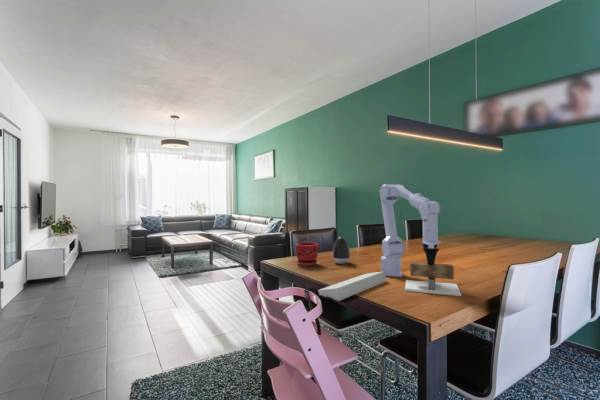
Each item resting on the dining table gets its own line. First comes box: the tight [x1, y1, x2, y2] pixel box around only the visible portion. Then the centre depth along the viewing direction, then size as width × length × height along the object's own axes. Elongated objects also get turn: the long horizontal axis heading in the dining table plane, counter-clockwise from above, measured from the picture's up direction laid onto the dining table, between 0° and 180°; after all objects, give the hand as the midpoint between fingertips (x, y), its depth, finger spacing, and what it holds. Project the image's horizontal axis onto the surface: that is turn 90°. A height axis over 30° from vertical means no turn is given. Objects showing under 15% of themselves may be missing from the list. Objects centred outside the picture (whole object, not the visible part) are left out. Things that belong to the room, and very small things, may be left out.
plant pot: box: [295, 242, 319, 267], centre depth 169 cm, size 13×13×12 cm
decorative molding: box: [317, 271, 387, 302], centre depth 124 cm, size 34×5×10 cm
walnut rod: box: [409, 261, 455, 280], centre depth 121 cm, size 16×4×5 cm, turn 69°
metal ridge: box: [427, 277, 436, 290], centre depth 121 cm, size 2×10×4 cm, turn 159°
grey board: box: [404, 279, 462, 297], centre depth 121 cm, size 20×13×1 cm, turn 69°
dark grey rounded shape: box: [332, 236, 351, 265], centre depth 171 cm, size 10×10×15 cm
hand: (430, 263), depth 122 cm, fingers open, 7 cm apart
